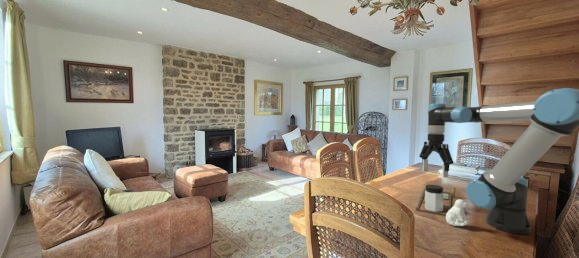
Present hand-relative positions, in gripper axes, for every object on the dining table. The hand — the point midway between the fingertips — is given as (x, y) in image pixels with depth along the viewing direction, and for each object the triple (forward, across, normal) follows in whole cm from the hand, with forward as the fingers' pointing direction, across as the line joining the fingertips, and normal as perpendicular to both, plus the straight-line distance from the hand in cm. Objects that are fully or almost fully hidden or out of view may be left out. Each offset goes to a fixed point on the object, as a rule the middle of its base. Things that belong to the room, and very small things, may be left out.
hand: (434, 174), depth 132 cm
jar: (+19, 0, 0) cm, 19 cm away
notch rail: (+18, +10, -10) cm, 23 cm away
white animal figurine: (+19, -20, +5) cm, 27 cm away
